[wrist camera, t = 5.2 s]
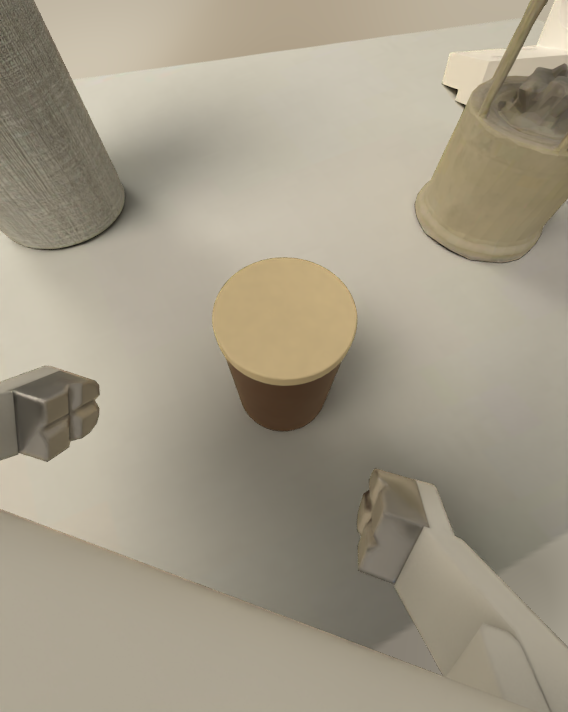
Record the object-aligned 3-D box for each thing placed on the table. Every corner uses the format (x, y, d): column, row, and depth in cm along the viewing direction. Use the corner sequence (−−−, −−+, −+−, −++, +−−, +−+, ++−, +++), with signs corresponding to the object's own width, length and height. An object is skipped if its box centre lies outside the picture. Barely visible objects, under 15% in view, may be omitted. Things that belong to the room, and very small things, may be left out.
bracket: (538, 85, 38) (581, -11, 33) (585, 96, 34) (644, -12, 28) (439, 94, 37) (464, -4, 31) (473, 108, 33) (510, -3, 27)
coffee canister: (339, 420, 19) (379, 360, 11) (247, 443, 18) (224, 395, 11) (313, 341, 21) (332, 246, 14) (231, 358, 21) (202, 269, 13)
